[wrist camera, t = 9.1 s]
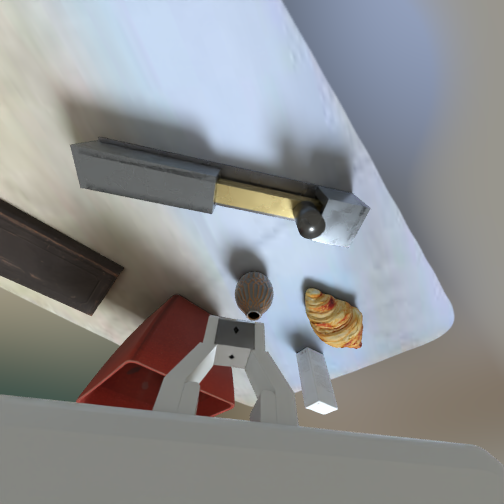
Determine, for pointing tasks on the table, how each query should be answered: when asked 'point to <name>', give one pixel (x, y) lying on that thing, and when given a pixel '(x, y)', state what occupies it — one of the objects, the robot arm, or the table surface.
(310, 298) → the croissant
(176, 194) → the guide
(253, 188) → the sliding bolt
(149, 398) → the plant pot
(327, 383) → the skincare box
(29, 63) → the table surface
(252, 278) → the vase
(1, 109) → the table surface
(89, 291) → the hardcover book
